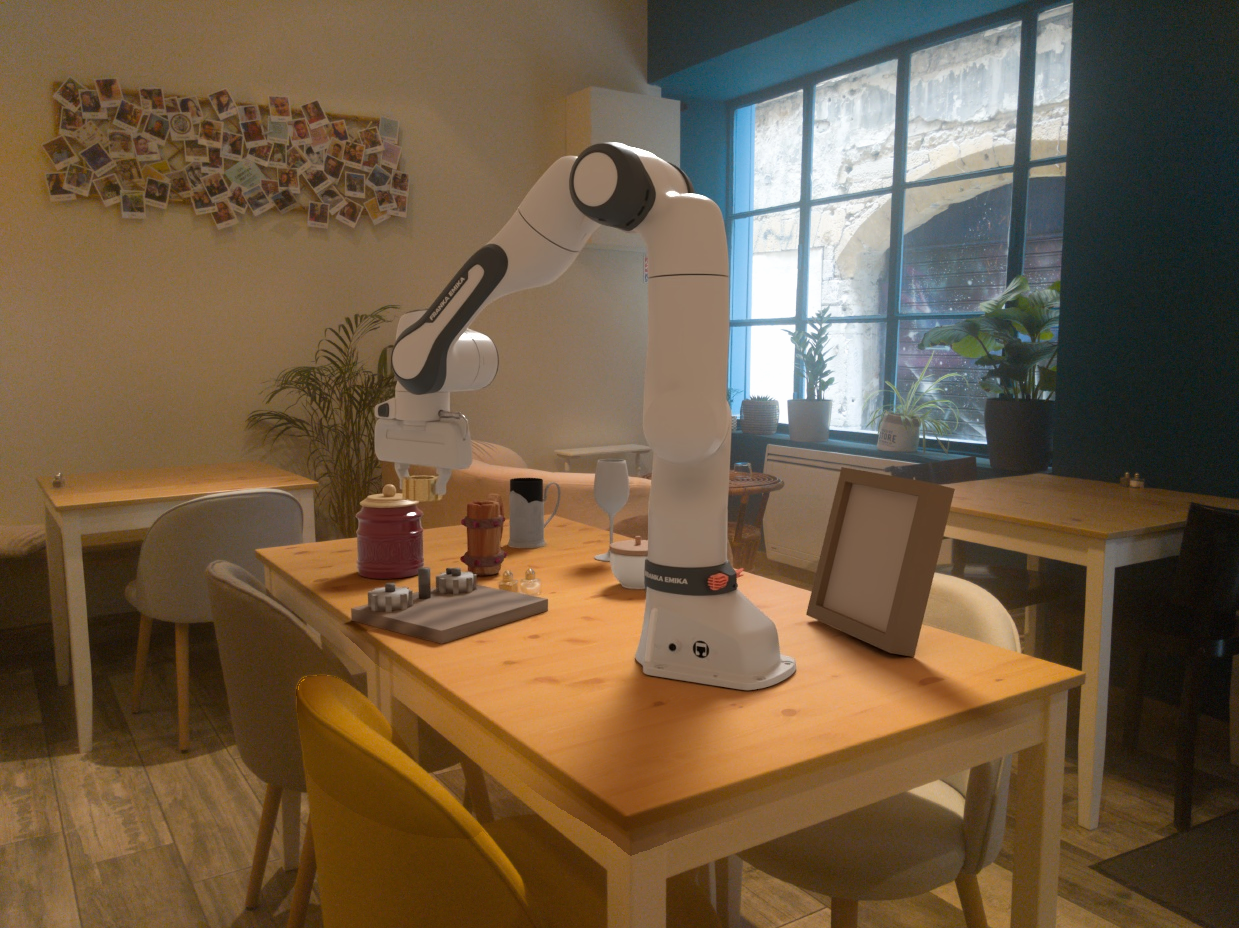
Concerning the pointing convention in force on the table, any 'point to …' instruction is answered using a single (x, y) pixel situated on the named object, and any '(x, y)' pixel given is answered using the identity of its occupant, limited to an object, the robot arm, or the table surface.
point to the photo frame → (880, 558)
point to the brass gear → (419, 488)
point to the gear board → (445, 607)
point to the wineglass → (611, 491)
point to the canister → (389, 536)
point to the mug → (484, 536)
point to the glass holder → (528, 512)
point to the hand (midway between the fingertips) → (422, 492)
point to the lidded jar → (629, 562)
